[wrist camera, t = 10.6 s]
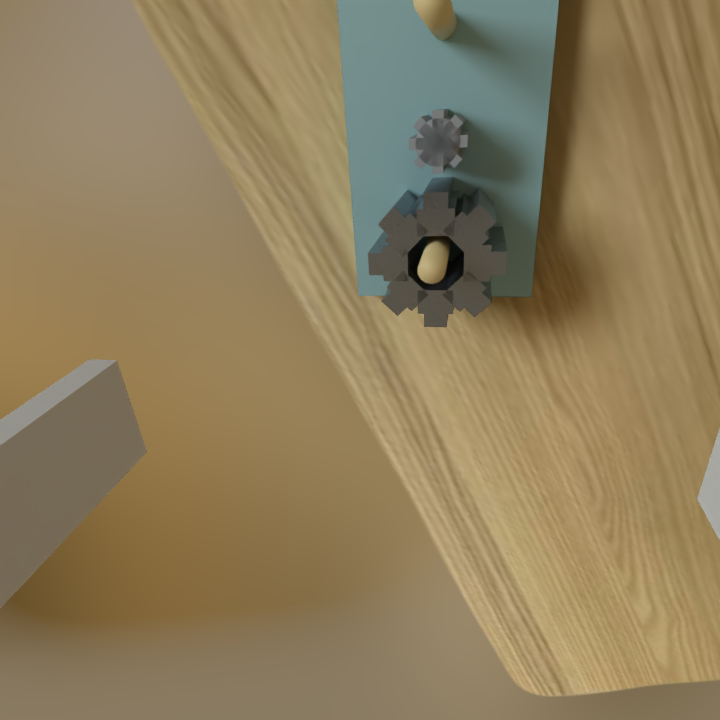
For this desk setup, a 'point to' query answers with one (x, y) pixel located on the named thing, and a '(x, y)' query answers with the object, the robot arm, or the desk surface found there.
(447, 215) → the gear
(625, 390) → the desk surface
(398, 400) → the desk surface
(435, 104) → the carrier
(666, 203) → the desk surface
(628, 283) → the desk surface
